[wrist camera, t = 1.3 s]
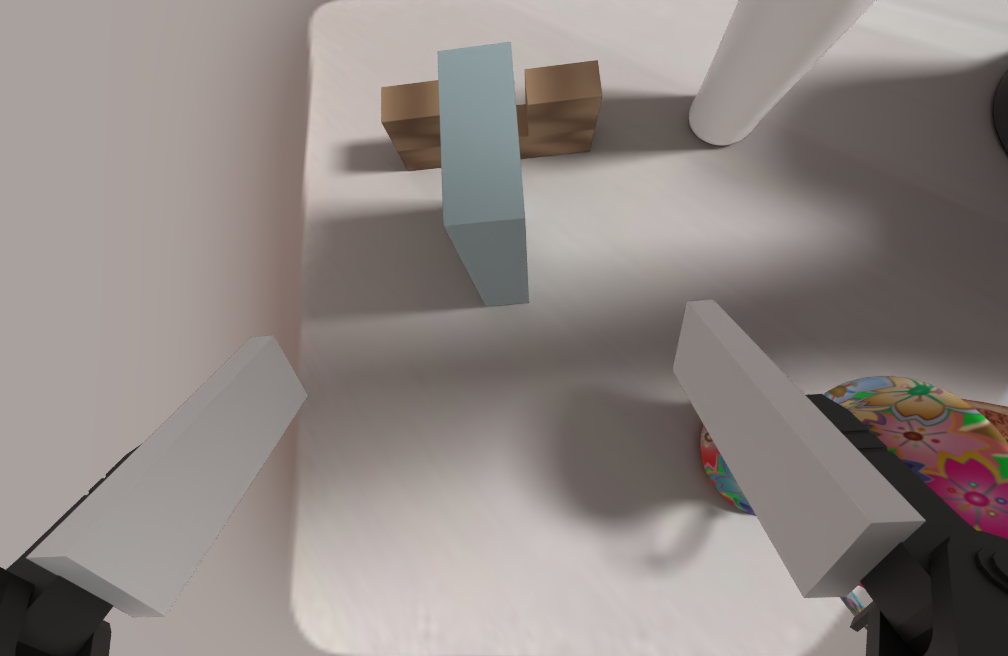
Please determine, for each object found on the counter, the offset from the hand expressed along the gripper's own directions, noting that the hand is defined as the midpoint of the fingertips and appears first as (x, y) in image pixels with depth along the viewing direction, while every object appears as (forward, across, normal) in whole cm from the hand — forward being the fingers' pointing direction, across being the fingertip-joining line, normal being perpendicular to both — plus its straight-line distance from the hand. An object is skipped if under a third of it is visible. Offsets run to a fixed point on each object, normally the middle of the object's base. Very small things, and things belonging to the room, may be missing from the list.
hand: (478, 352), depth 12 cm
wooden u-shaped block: (+26, 0, +3) cm, 26 cm away
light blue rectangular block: (+19, 0, -4) cm, 19 cm away
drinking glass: (+26, +19, +3) cm, 32 cm away
